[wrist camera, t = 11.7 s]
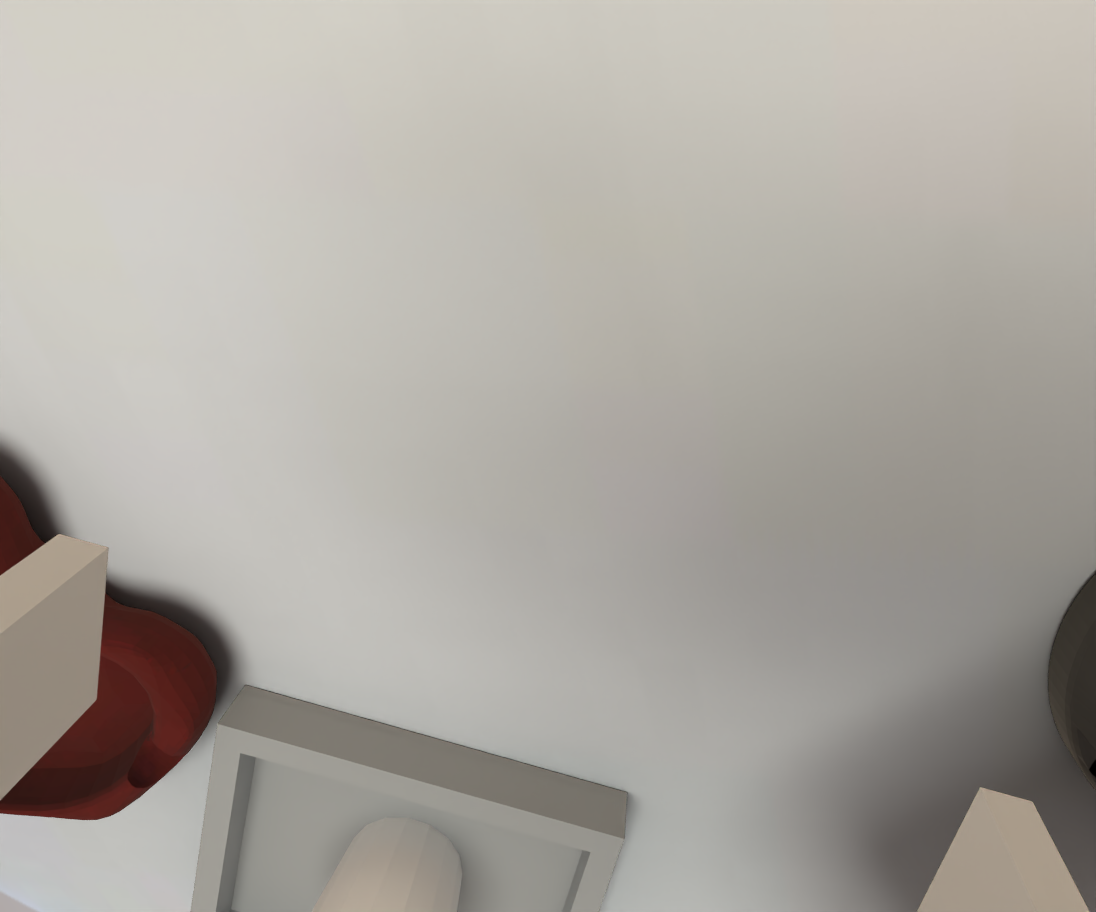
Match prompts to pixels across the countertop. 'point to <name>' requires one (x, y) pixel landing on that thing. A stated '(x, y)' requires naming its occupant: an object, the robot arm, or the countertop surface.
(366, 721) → the tray
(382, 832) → the white cup
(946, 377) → the countertop surface
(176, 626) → the ashtray
